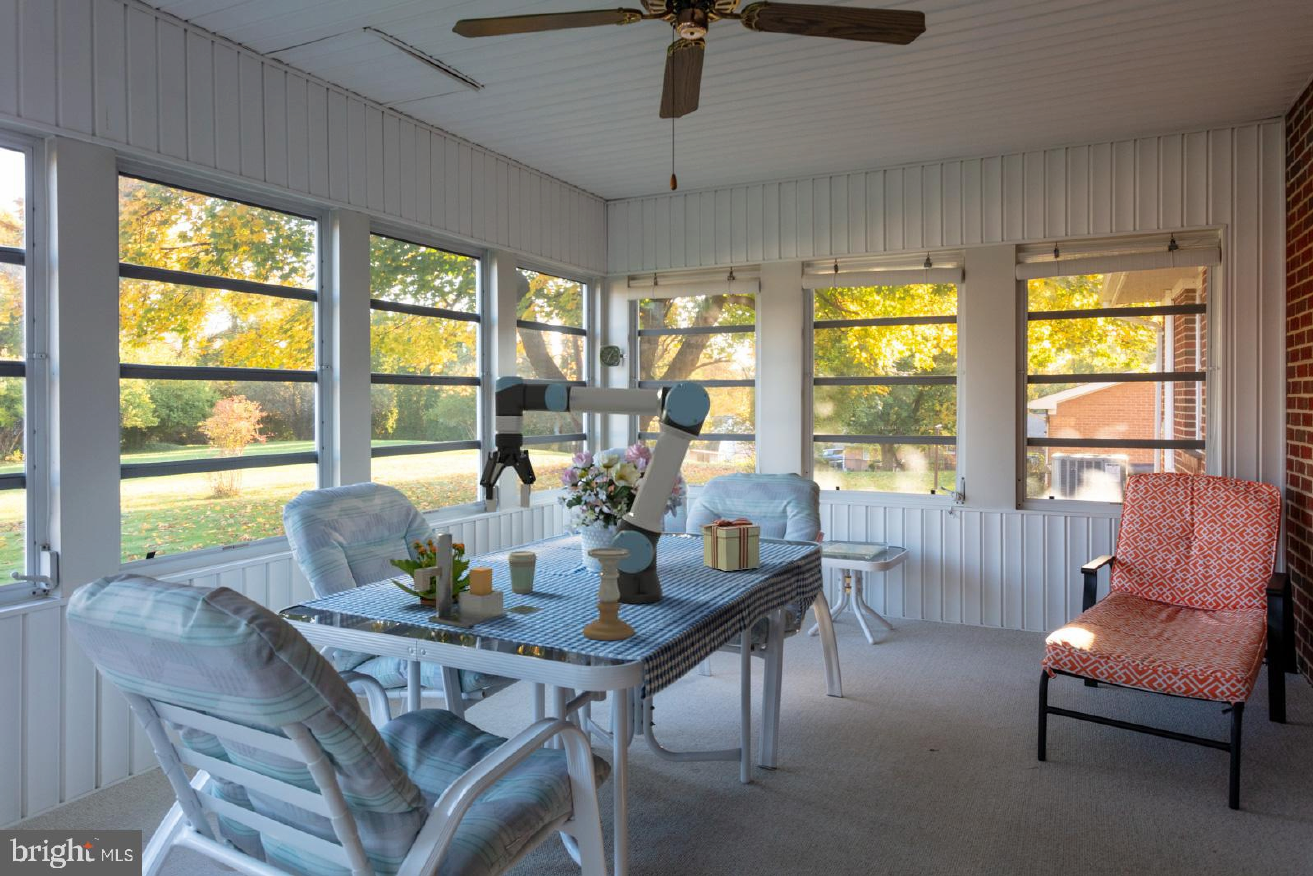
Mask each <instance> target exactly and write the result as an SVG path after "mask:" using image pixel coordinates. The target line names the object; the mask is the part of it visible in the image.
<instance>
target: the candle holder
mask: <svg viewBox="0 0 1313 876" xmlns="http://www.w3.org/2000/svg"><path fill="white" fill-rule="evenodd" d="M586 553H587V556H588V557H590V558H593V559H597V561H598V563H599V564H600V565H601V571H600V572H599V574H598V577H599V578H600V583H599V589H598V591H597V596H596V597H597V599H598V600H599V601H598V603H597V604H596V608H597V610H598V611H599V613H598V619H597V620H593V621H592V622H590V623H589V624H587V625H586V626H583V627H584V628H583V629H582V633H583V636H584V637H586V638H589V639H592V640H597V641H598V640H599V641H617V640H620V641H621V640H625V639H628V638H630V637H633V636H634V632H635V628H634V627H633V626H632V625H630V624H628V623H627V622H626V621H624V620H623V619H622V620H621V619H619V612H618V611H619V610H620V609H621V607H622V605H621V604H620V602H618V601H617V600H618V599H619V597H620V592H619V589H618V585H617V578H618V577H619V573H618V572H617V567H616V565H617V564H618V563H619V561H620V558H626V557H628V556H630V554H631V552H630V551H629V550H627V549H621V548H610V547H601V548H600V547H598V548H592V549H589V550H587V552H586Z"/></svg>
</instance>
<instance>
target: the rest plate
mask: <svg viewBox="0 0 1313 876" xmlns="http://www.w3.org/2000/svg"><path fill="white" fill-rule="evenodd" d="M543 610H544V608H543V607H536V606H529V605H523V604H521V605H518V606H514V607H511V608H507V609H503V612H506V613H512V614H513V613H514V614H518V615H523V616H526V615H529V614H533V613H536V612H539V611H543Z"/></svg>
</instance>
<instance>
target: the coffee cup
mask: <svg viewBox="0 0 1313 876" xmlns="http://www.w3.org/2000/svg"><path fill="white" fill-rule="evenodd" d="M537 558H538V557H537V556H536V552H534V551H526V550H519V551H518V550H517V551H512V552H509V554H508V558H507V561H508V565H509V574H510V586H511V591H512V593H513V594H521V595H523V594H529V593H533V589H534V579H535V573H536V572H535V570H536V562H537V560H538V559H537Z"/></svg>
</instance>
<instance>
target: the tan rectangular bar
mask: <svg viewBox="0 0 1313 876" xmlns="http://www.w3.org/2000/svg"><path fill="white" fill-rule="evenodd" d="M469 573H470V586H469V589H470V594H476V595H485V594H489V593H492V590H493V568H491V567H483V566H479V567H475V568H471V569H469Z"/></svg>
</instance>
